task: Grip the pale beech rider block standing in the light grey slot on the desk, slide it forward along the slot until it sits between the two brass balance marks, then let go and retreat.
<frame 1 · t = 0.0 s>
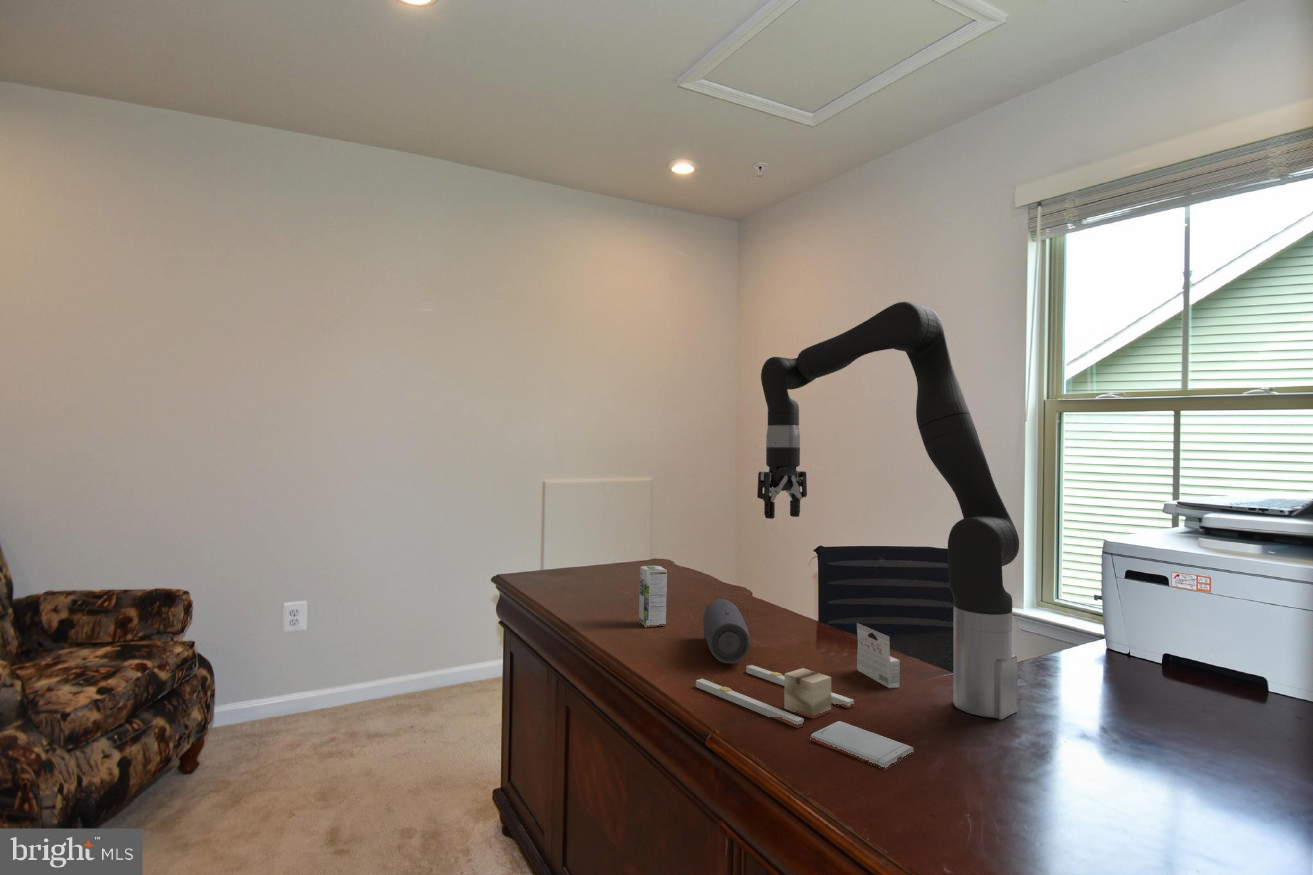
hand: (782, 517, 153), 29 cm above the table, tool pointing down, fingers open, 8 cm apart
syrup box: (652, 625, 171), on the table
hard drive: (861, 751, 102), on the table
slot rails: (771, 696, 122), on the table
ink cartridge box: (877, 680, 132), on the table
bluetooth speaker: (725, 654, 148), on the table
rider: (807, 710, 116), on the table
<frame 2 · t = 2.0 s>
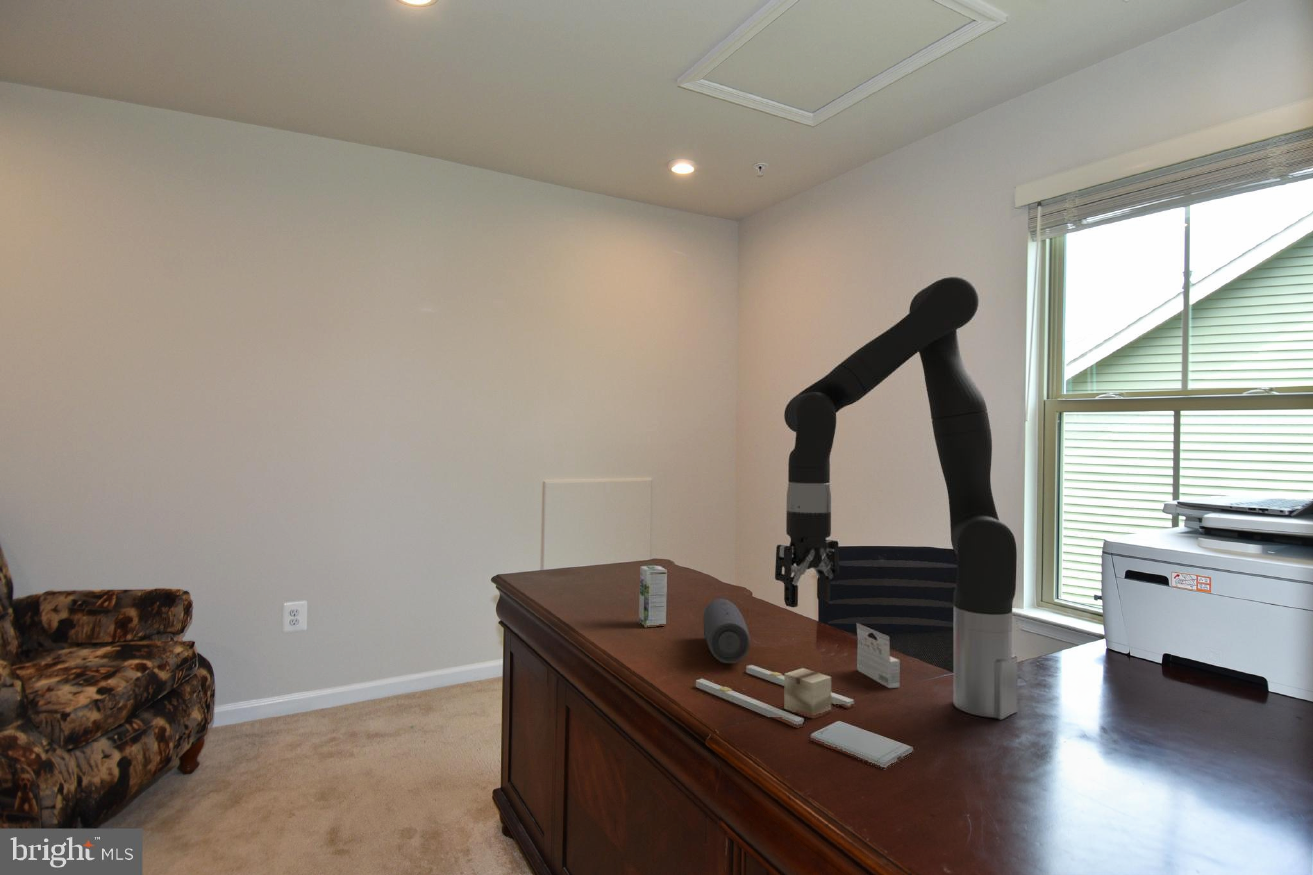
hand: (807, 603, 116), 18 cm above the table, tool pointing down, fingers open, 8 cm apart
nothing on the table moved.
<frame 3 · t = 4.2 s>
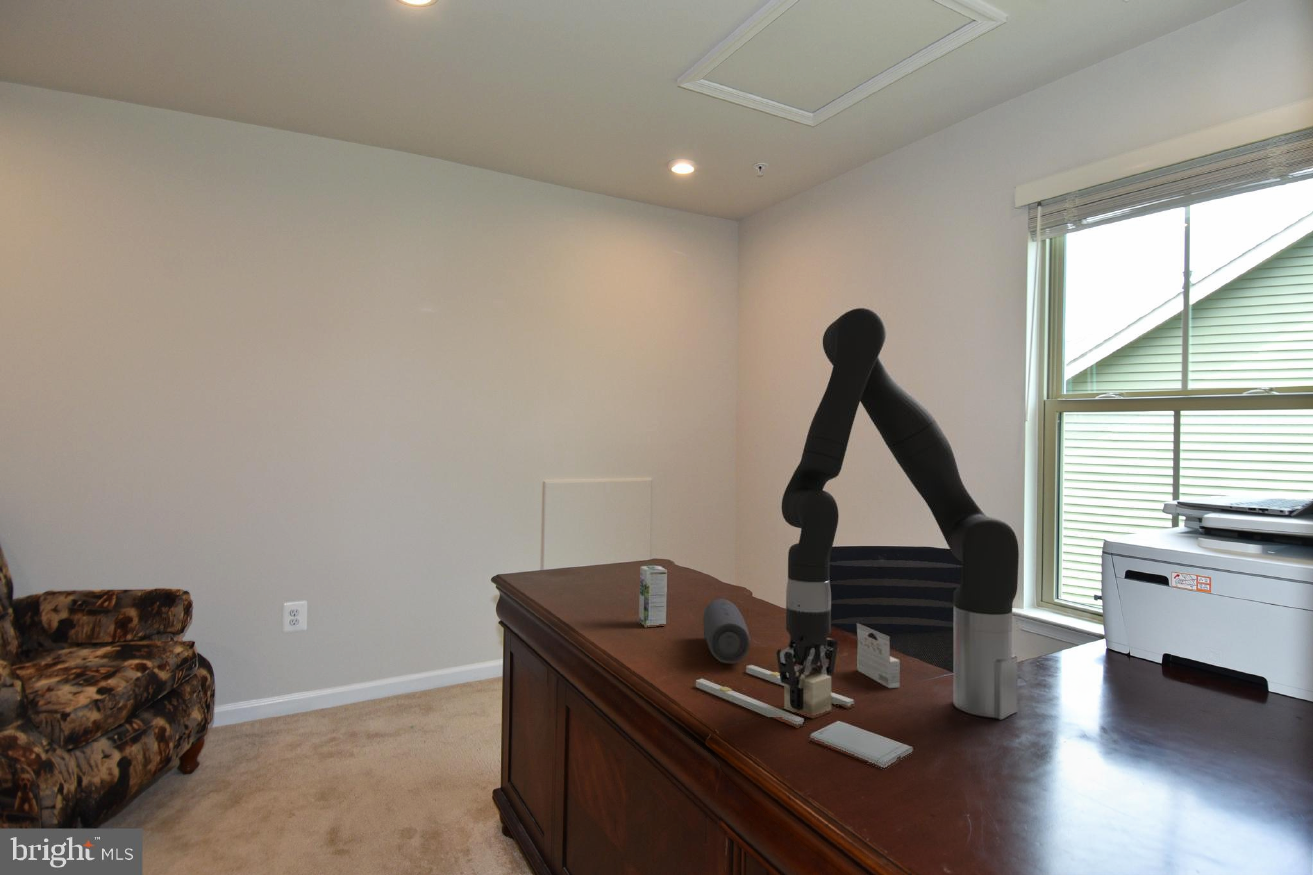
hand: (807, 704, 116), 1 cm above the table, tool pointing down, fingers closed on rider, 5 cm apart
rider: (807, 710, 116), on the table, touching gripper
everything else where it was.
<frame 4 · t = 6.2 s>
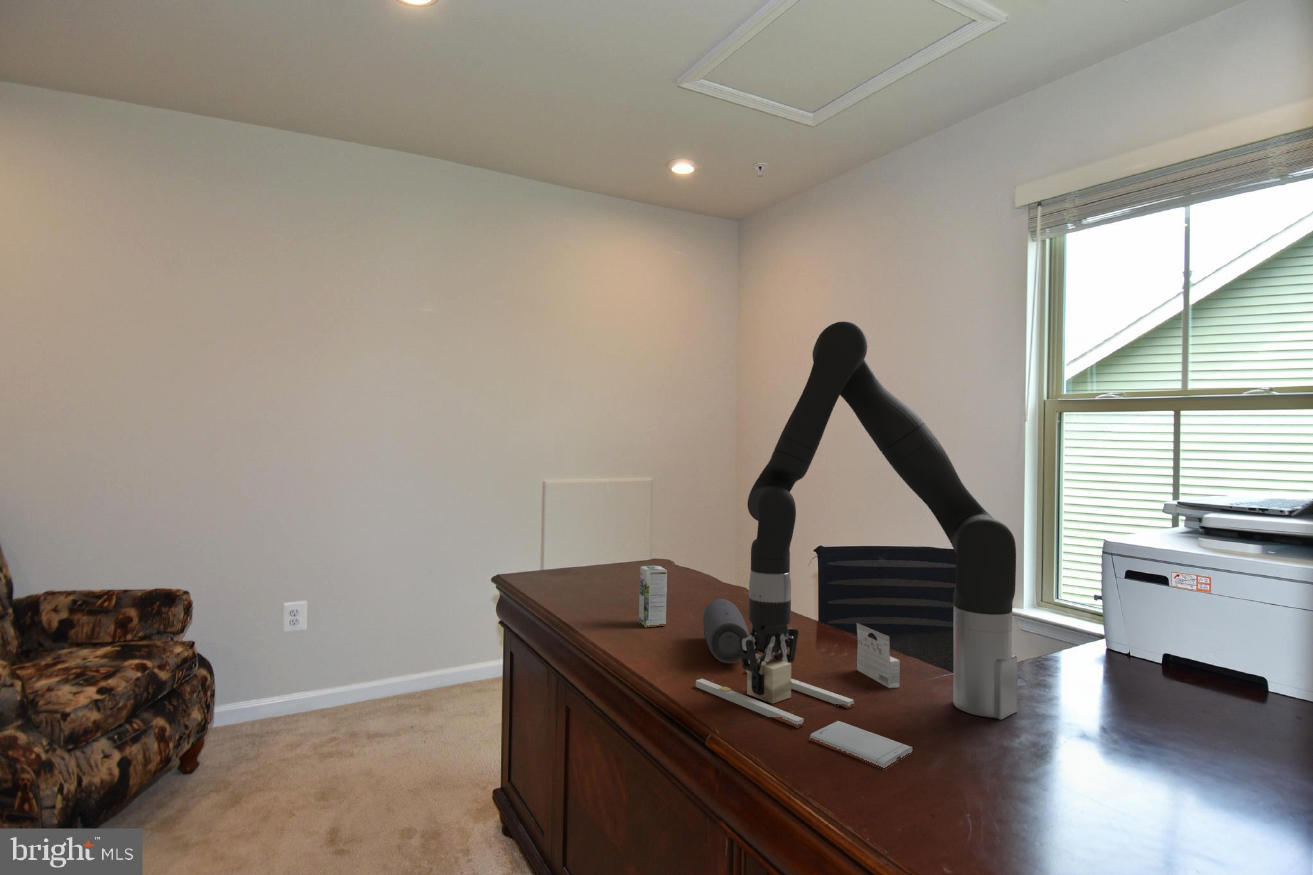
hand: (768, 689, 122), 1 cm above the table, tool pointing down, fingers closed on rider, 5 cm apart
rider: (768, 695, 122), on the table, touching gripper
everything else where it was.
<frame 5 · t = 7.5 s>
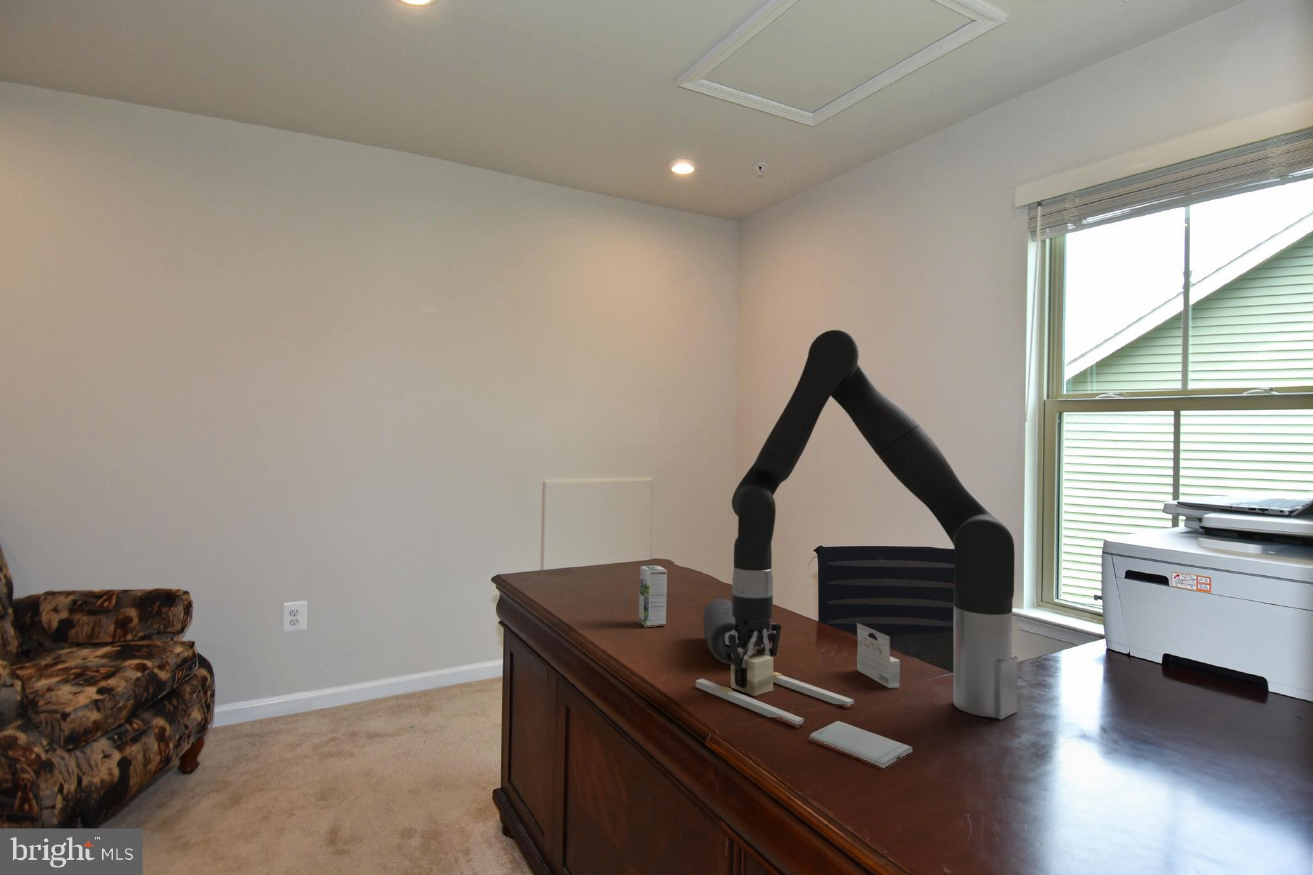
hand: (751, 683, 126), 1 cm above the table, tool pointing down, fingers closed on rider, 5 cm apart
rider: (751, 688, 126), on the table, touching gripper
everything else where it was.
when the fingers open (1 cm above the table, at t = 8.3 s): rider stays where it is, on the table.
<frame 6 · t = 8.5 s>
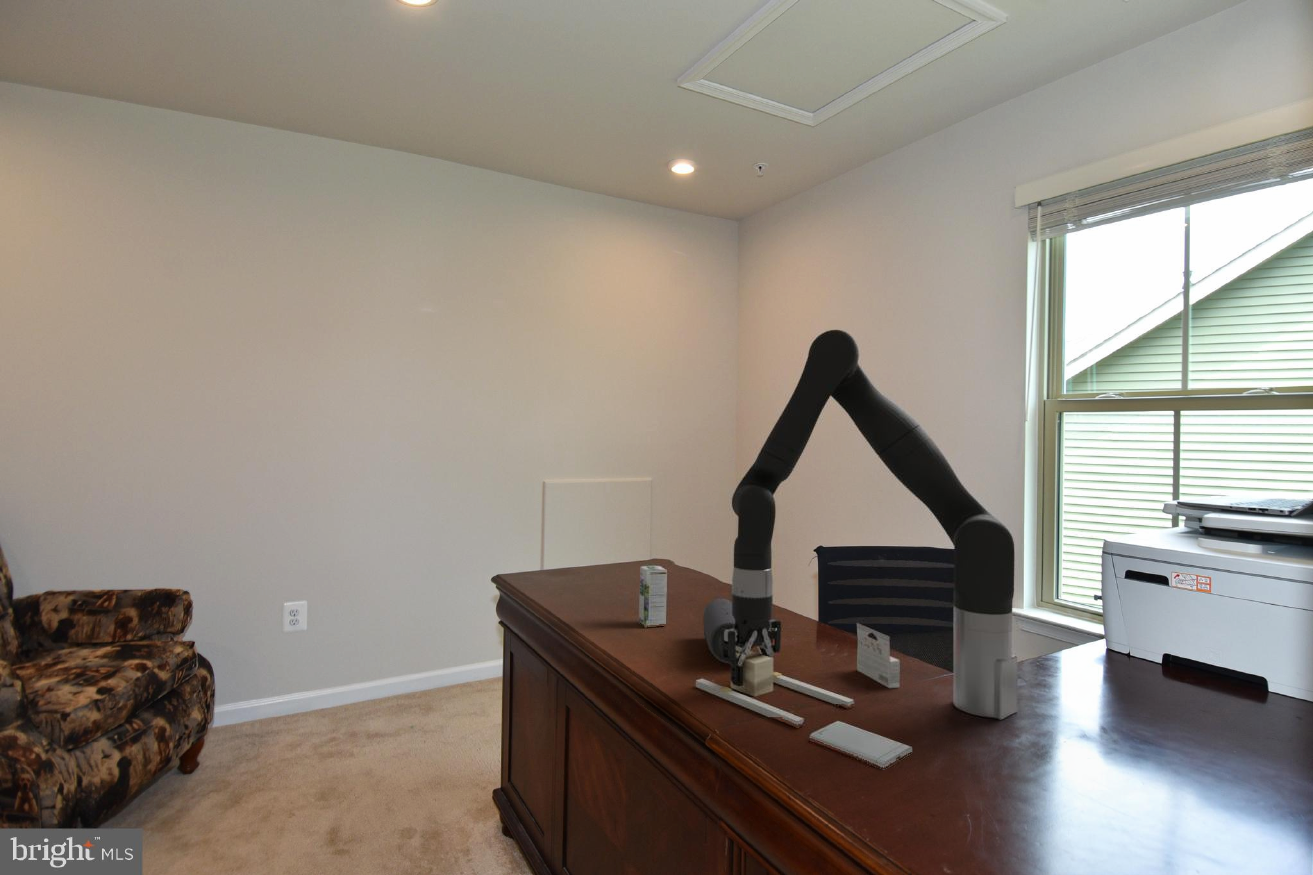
hand: (751, 680, 126), 1 cm above the table, tool pointing down, fingers open, 7 cm apart
rider: (751, 689, 126), on the table
everything else where it was.
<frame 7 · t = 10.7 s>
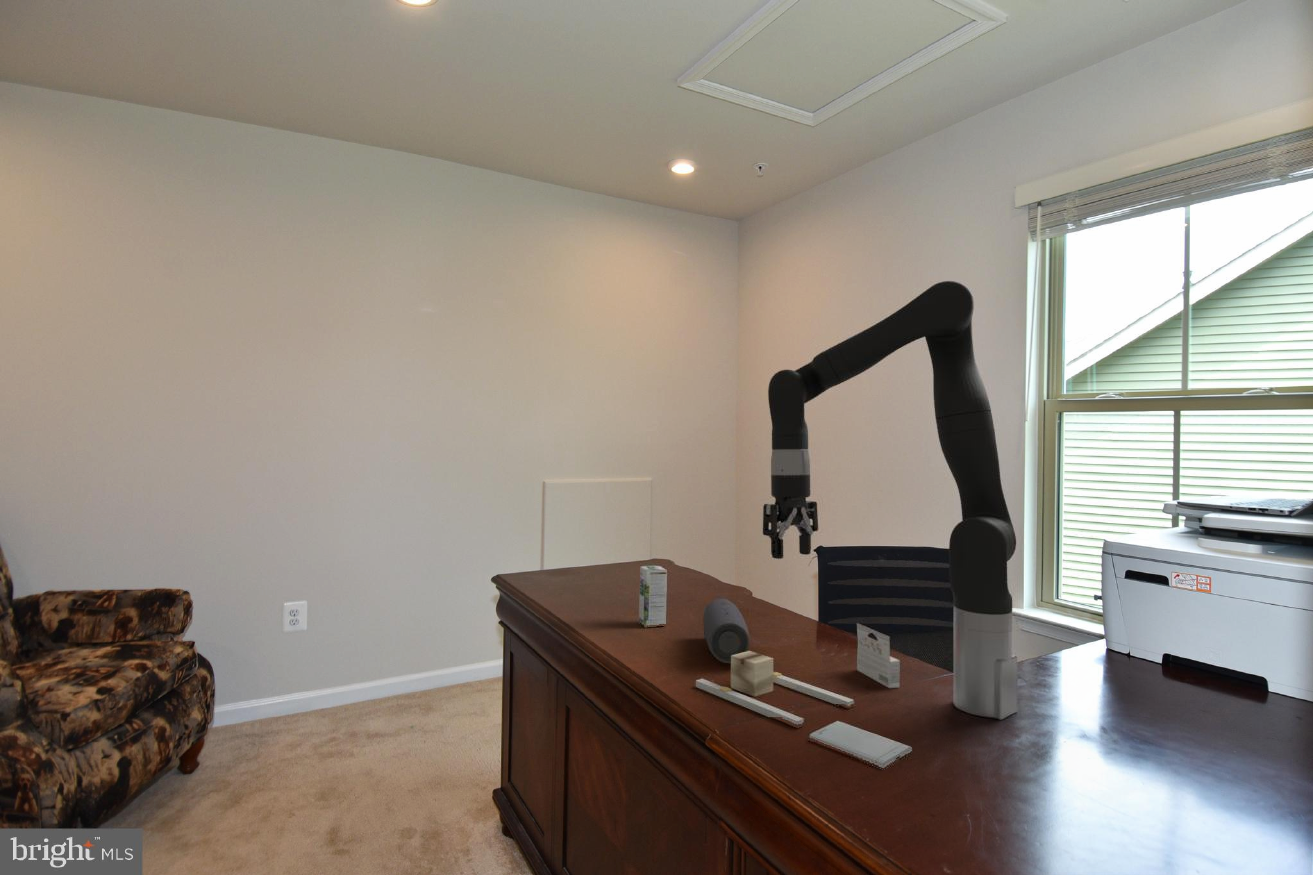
hand: (791, 556, 132), 24 cm above the table, tool pointing down, fingers open, 8 cm apart
nothing on the table moved.
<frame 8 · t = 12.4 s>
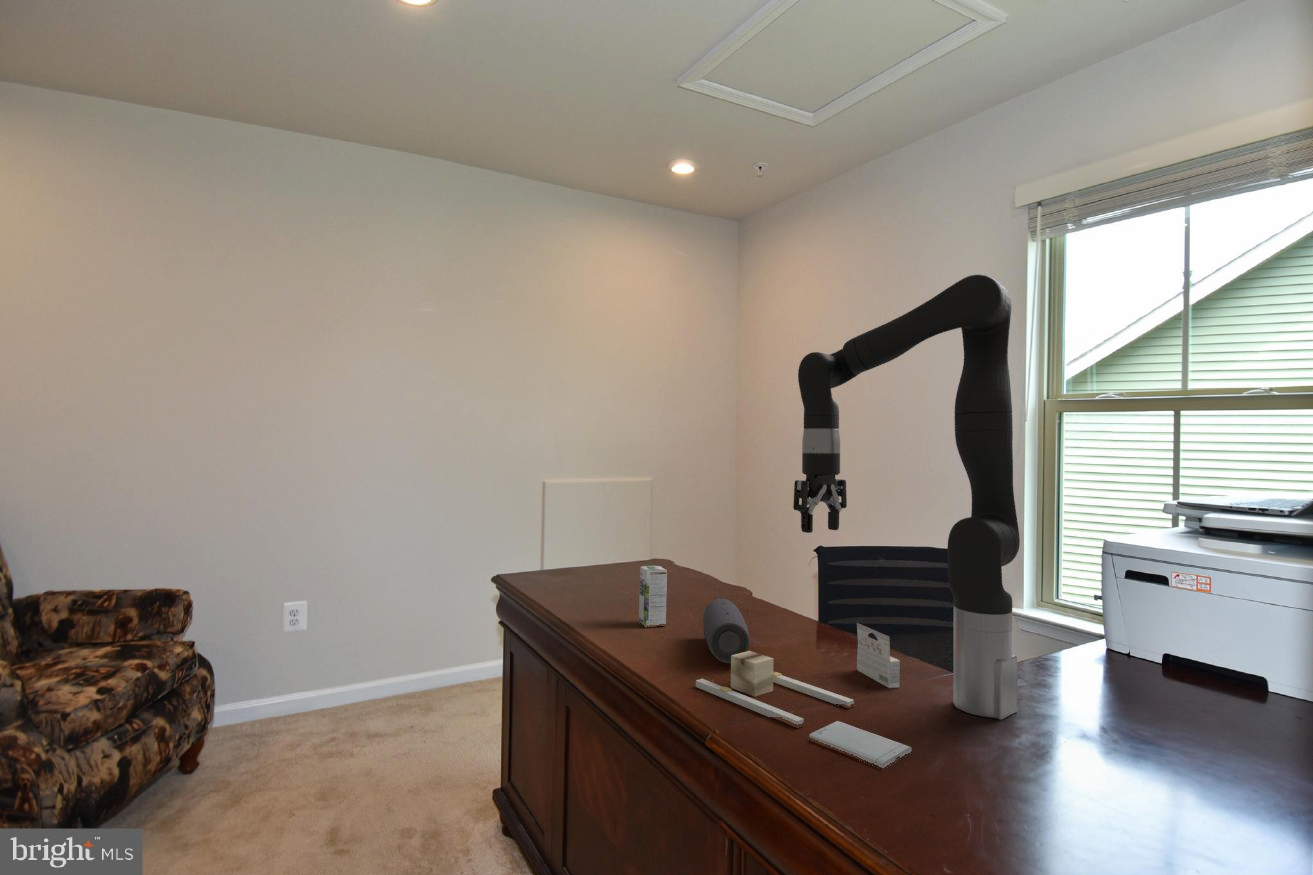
hand: (820, 531, 138), 28 cm above the table, tool pointing down, fingers open, 8 cm apart
nothing on the table moved.
at the end: rider inside the target area (0.1 cm from its centre), on the table; rider tilted 0°; the gripper is holding nothing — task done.
